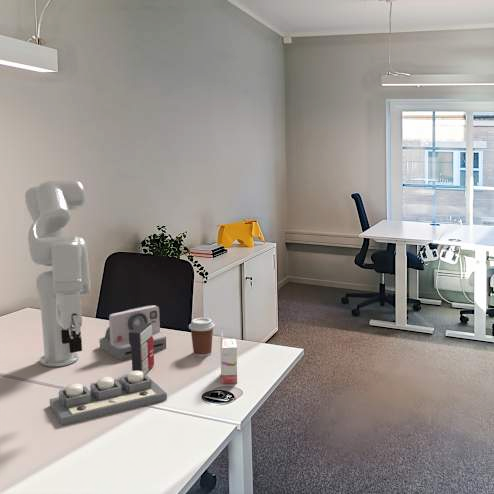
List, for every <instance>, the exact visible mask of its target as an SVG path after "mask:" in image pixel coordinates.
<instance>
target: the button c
mask: <svg viewBox="0 0 494 494" xmlns="http://www.w3.org/2000/svg"><path fill="white" fill-rule="evenodd" d="M126 376H128V383H129V384H133V383H138V382H142V381H143V372H142V371H132V370H131V371H129V372H127V374H126Z"/></svg>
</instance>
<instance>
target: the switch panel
mask: <svg viewBox="0 0 494 494" xmlns="http://www.w3.org/2000/svg"><path fill="white" fill-rule="evenodd" d="M89 388H90V389H88V388H87V386H86V385H83V395H80V396H75V397H71V398H68V397H67V396H66V388H65V389H60V390H59V391H58V397H54V398H53V397H52V398H49V406H50V408H51V410H52V412H53V413H54V414H55V416H56V418H57V419H58V421H59V423H60V425H61V426H65V425H69V424H73V423H77V422H81V421H85V420H90V419H94V418H98V417H102V416H106V415H109V414H110V415H111V414H113V413H118V412H123V411H126V410H131V409H135V408H139V407H143V406H147V405H150V404H153V403H154V404H155V403H158V402H163V401H166V400H167V398H168V395H167V392H166V391H165V390H164V389H162V387H160V385H158V384H157V383H156V382H155V381H154V380H153V379H152V378H151V377H149V376H148V375H147V373H146V374H144V373H143V381H142V382H138V383H133V384H129V383H128V376H127V375H124V376H121V377H120V379H119V381H117V379H114V388H111V389H107V390H102V391H100V390H98V382H97V381H96V382H92V383H90V385H89Z"/></svg>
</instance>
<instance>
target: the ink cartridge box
mask: <svg viewBox="0 0 494 494" xmlns="http://www.w3.org/2000/svg"><path fill="white" fill-rule="evenodd" d="M220 375H221V382H222V384H223V385H224V384H237V383H238V345H237V341H236V338H224V337H223V330H221V334H220Z"/></svg>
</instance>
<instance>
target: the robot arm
mask: <svg viewBox="0 0 494 494" xmlns="http://www.w3.org/2000/svg"><path fill="white" fill-rule="evenodd" d="M86 197H87V196H86V190H85V187H84V185H83V184H82V183H81V181H78V180H72V179H70V180H67V179H66V180H49V181H45V182H42V183H40V185H37V186H33V187H30V188H28V189H27V190H26V191H25V194H24V199H25V205H26V207H27V210H28V213H29V215H30V217H31V219H32V221H33V222H32V224H31V226H30V227H29V230H28V233H27V234H28V235H27V243H28V249H29V255H30V258H31V261H33V263H35V264H36V265H42V266H44V267H51V270H47V271H43V272H41V273H39V275H37V277H36V282H35V284H36V285H35V286H36V290H37V295H38V299H39V306H40V314H41V326H42V327H41V328H42V339H43V340H42V341H43V356H41V357H40V359H39V363H40V365H42V366H44V367H50V368H51V367H52V368H53V367H55V368H57V367H65V366H68V365H71V364H74V363H75V362H77V361H78V359H79V354H78V352H82V351H83V344H82V343H83V342H82V332H81V327H82V325H83V318H82V317H83V316H82V315H83V314H82V302H81V296H86V295H88V294H89V293H90V291H91V275H90V273H91V271H90V264H89V263H90V262H89V252H88V247H87V243H86V241H85V239H84V238H82V237H80V236H75V235H64V234H63V228H65V227H66V226H67V225H68V224H69V223H70V220H71V211H79V209H81V208H82V207H84V205H85V203H86V199H87V198H86Z"/></svg>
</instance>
